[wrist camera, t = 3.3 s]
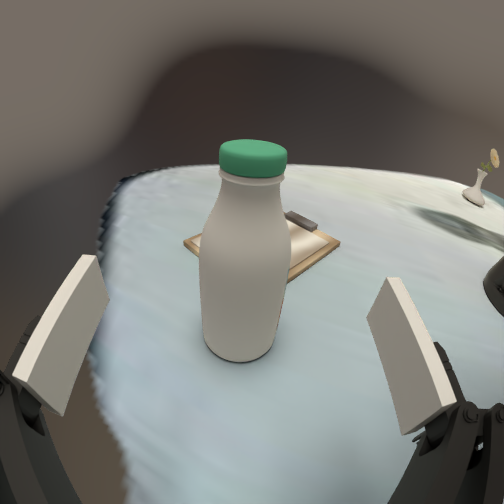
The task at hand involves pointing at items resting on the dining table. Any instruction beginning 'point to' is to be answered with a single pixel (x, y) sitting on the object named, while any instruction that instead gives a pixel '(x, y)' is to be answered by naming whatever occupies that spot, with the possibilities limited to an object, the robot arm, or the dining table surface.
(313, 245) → the clipboard
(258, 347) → the milk bottle
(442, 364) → the robot arm
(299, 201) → the dining table surface
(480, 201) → the flower in vase
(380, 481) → the dining table surface
